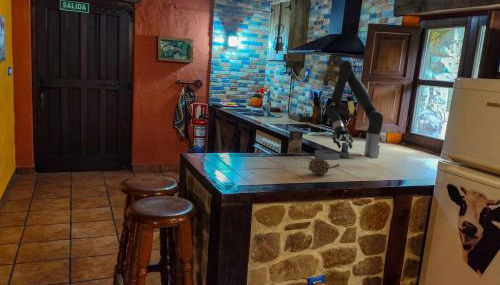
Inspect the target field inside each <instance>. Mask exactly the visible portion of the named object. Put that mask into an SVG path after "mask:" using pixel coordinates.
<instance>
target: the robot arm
mask: <svg viewBox="0 0 500 285" xmlns="http://www.w3.org/2000/svg"><path fill="white" fill-rule="evenodd" d="M338 71H339V74H338V78H337V81H336V83H335V85H334V86H335V87H334V89H333V92H332V94H331V99H330V100H331V101H332V102H333V103H334V104H328V105H326V107H325V113H326V116H328V118H329V119H330V121H331V124H332V128H333V131H334V134H332V141H333V143H334V144H336V146H337V148H338V149H341V148H342V144H341V142H344V143H349V147H348V148H349V149H350V150H351V149H352V148H353V143H354V139H353V136H352V135H351V134H349V135H348V134H347V130H346V128H345V124H344V122H343V120H342V117H341V115H340V113H341V108H342V106H341V105H342V98H343V95H344V92H345V88H346V84H348V86H349V89H350V90H351V92H352V94H353V96H354V97H355V99H356V101H357V102H358V103H359V105H360V107H362V109H363V111H364V113H365V115H366V118H367V120H368V121H369V122H368V127H367V129H366V135H365V143H364V153H363V156H364V157H367V158H371V159H372V158H373V159H374V158H379V155H380V147H381V144H380V137H381V131H382V129H383V128H382V127H383V124H384V116H383V114H382V113H381V112H380V111H378V110H377V108H375V106H374V104H373V103H372V99H371V96H370V94H369V92H368V90H367V88H366V87H365V85H364V83H363V82H362V81H361V79H360V78H358V77H357V75H356V73H355V71H354V68H353V64H352V62H350V61H349V60H341V61H340V63H339V64H338Z"/></svg>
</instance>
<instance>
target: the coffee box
mask: <svg viewBox="0 0 500 285" xmlns="http://www.w3.org/2000/svg"><path fill="white" fill-rule="evenodd" d="M303 134H304V132H303V131H296V130H289V137H288V146H287V155H289V154H293V155H292V156H298V155H300V156H301V153H302V144H303V136H304V135H303Z"/></svg>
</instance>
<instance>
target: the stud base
mask: <svg viewBox="0 0 500 285" xmlns="http://www.w3.org/2000/svg"><path fill="white" fill-rule="evenodd" d="M339 160H354V158H353V157H350V156H349V158H341V157H340V158H339Z"/></svg>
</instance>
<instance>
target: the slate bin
mask: <svg viewBox="0 0 500 285" xmlns="http://www.w3.org/2000/svg"><path fill="white" fill-rule="evenodd" d="M315 158H316V159H318V158H321V160H322V159H324V161H325V162H326V161H327V160H330V161H331V160H332V161H334V160H335V161H338V160H340V159H339V158H340V153H337V152H335V151H332V150H329V149H326V150H321V149H319V150H318V149H314V159H315Z"/></svg>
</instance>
